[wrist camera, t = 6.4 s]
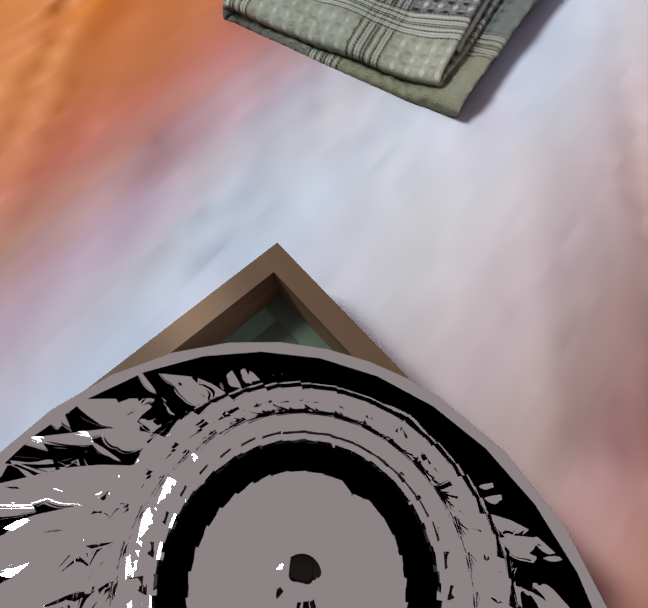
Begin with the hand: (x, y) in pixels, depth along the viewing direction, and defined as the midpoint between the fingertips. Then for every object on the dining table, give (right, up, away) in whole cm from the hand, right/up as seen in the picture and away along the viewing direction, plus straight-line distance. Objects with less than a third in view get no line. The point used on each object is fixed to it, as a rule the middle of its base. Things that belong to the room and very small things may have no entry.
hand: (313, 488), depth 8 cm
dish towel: (+5, +25, +25) cm, 36 cm away
